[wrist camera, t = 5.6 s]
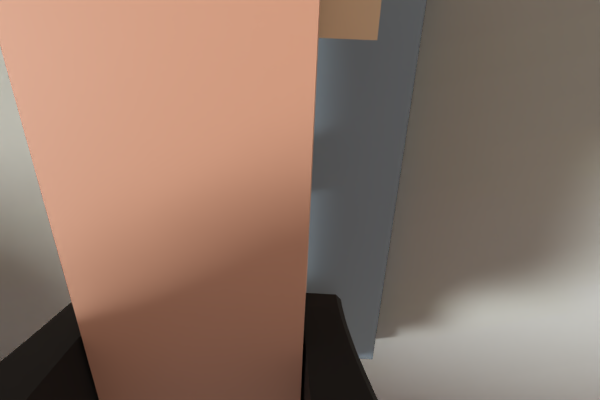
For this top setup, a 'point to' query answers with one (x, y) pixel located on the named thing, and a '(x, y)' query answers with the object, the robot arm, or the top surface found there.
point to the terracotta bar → (175, 184)
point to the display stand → (359, 150)
